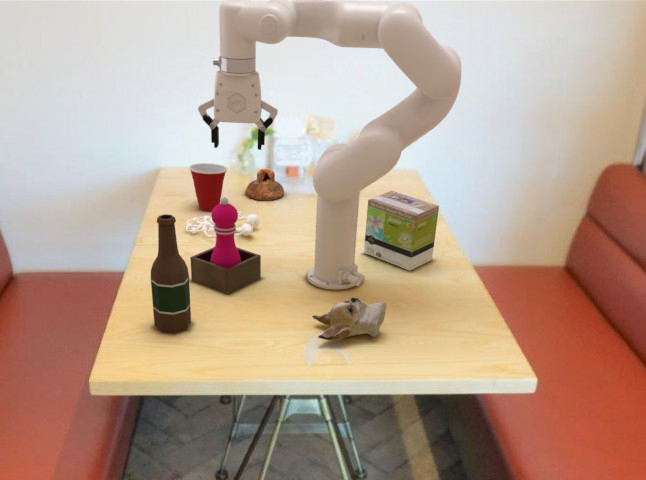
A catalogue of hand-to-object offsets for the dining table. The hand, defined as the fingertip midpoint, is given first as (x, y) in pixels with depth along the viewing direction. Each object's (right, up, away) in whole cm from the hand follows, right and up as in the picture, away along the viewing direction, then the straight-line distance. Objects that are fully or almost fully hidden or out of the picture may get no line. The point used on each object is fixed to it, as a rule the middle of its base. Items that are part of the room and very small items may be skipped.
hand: (238, 147), depth 179 cm
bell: (+3, +6, +64) cm, 64 cm away
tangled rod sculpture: (-7, -12, +37) cm, 39 cm away
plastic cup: (-12, -1, +53) cm, 54 cm away
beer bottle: (-13, -41, -8) cm, 43 cm away
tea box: (+39, -20, +26) cm, 51 cm away
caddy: (-4, -28, +12) cm, 30 cm away
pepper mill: (-4, -28, +12) cm, 31 cm away
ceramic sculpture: (+24, -43, -10) cm, 50 cm away
